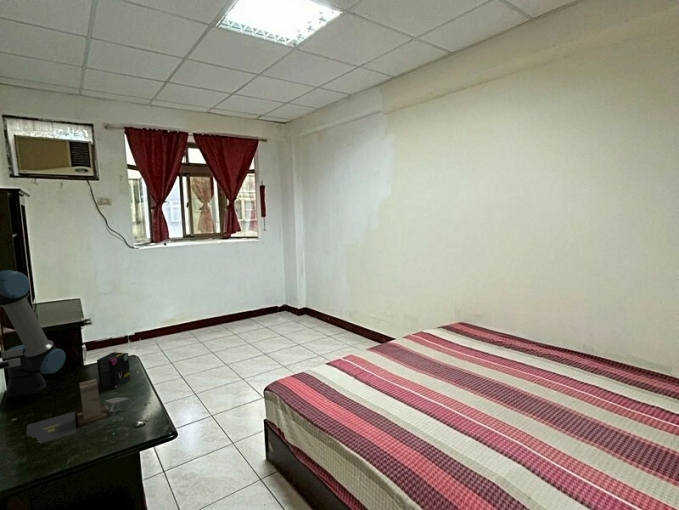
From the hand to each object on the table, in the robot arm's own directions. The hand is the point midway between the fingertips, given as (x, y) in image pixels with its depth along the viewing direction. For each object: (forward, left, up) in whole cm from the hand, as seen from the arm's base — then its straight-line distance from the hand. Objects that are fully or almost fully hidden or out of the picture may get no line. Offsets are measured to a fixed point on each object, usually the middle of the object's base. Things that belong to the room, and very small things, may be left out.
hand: (21, 356), depth 152 cm
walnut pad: (+8, +21, -30) cm, 37 cm away
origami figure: (+10, +31, -30) cm, 44 cm away
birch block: (+8, +21, -29) cm, 37 cm away
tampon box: (-22, +33, -30) cm, 50 cm away
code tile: (+8, +7, -30) cm, 32 cm away
